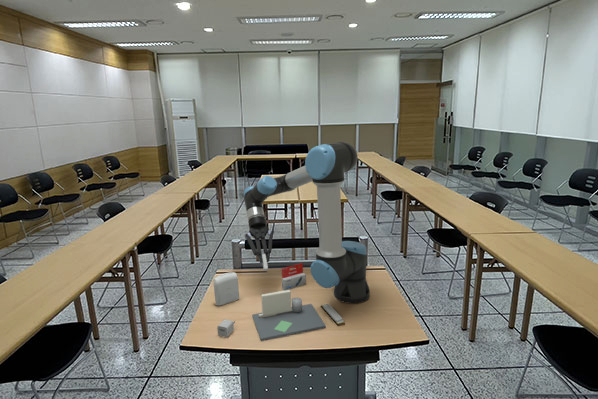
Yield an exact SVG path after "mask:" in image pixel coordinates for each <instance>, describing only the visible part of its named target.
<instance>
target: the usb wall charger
mask: <svg viewBox="0 0 598 399" xmlns="http://www.w3.org/2000/svg"><path fill="white" fill-rule="evenodd" d="M235 323H236V320H231V319H223V320H222V321H221V322H220V323H219V324H218V325H217V328H216V329H217V330H216V331H217V335H218V336H219V337H223V338H228V337H229V336H230V334H232V332H233V331H234V330H235V328H234V327H235V325H234V324H235Z"/></svg>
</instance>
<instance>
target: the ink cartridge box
mask: <svg viewBox="0 0 598 399" xmlns="http://www.w3.org/2000/svg"><path fill="white" fill-rule="evenodd" d="M303 265H304V264H303V262H301V263H298V264H293V265H289V266H286V267H282V268H281V289H282V291H285V290H291V289H295V288H298V286H299V287H301V286H305V285H306V283H307V282H306V281H307V280H306V277H307V276H306V273H304V266H303ZM292 268H294V269H292Z"/></svg>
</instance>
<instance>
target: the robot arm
mask: <svg viewBox="0 0 598 399" xmlns="http://www.w3.org/2000/svg"><path fill="white" fill-rule="evenodd" d="M358 159H359V156H358V152H357V150H356V148H355V147H354V146H353V145H352V144H350V143H349V142H346V141H338V142H332V143H324V144H319V145H317V146H314V147H312V148H311V149H310V150H309V151H308V153H307V154H306V156H305V163H304V165H303V166H301V167H299V168H297V169H294V170H292V171H290V172H287V173H286V174H283V175H281V176H278V177H272V176H269V175H264V176H263V177H262V178H260V179H259V180H258V181H257V183H256V184H255V185H253V186H251V185H250V186H248V187H246V188H245V189H244V190H243V200H244V205H245V211H246V215H247V221H248V228H249V231H248V233H245V234H244V239H245V240H246V241H247V243H248V245H249V247H250V249H251V251H252V253H253V256H255V257H258V261H259V263H260V264H262V268H263V272H268V269H269V266H268V263H269V262H270V258H269V255H270V254H271V253H272V249H273V236H274V234H275V231H274V230H270V229H269V228H268V226H267V222H266V218H265V212H264V206H263V203H264V202H265V200H267V199H268V198H269V197H272V196H276V195H279V194H283V193H287V192H292V191H294V190H296V189H297V188H299V187H301V186H304V185H307V184H309V183H311V182H312V184H314V185H315V186H316V196H317V199H316V200H317V215H318V216H317V218H318V219H317V220H318V221H317V222H318V240H319V243H318V244H319V246H318V248H317V249H316V250H315V260H314V261H313V262H312V263H311V264H310V270H309V271H310V274H311V277H312V279H313V280H314V281H315V283H317V284H318V286H320V287H322V288H324V289H331V288H333V296H334V299H336V300H337V301H340V302H342V303H346V304H362V303H365V302H366V301H367V300H369V298H370V297H371V296H370V294H371V293H370V292H371V291H370V287H369V284H368V281H367V260H368V259H367V255H368V253H367V252H368V250H367V247H366V245H365V244H363V243H362V242H359V241H353V240H342V239H343V238H342V237H343V233H342V230H343V229H342V206H341V205H342V204H341V201H342V200H341V198H342V197H341V185H342V184H343V183H344V182H345V174H346V173H348V172H350V171H352V170H353V169H354V168H355V166H356V164H357V162H358ZM267 235H268V246H267V241H266V236H267ZM251 237H252V238H253V239H254V240H255V244H256V245H255V244H254V242H253V240H252V238H251ZM260 240H261V242H260ZM261 244H262V248H261ZM267 247H268V248H267ZM262 250H263V252H262Z"/></svg>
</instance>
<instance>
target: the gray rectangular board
mask: <svg viewBox="0 0 598 399" xmlns="http://www.w3.org/2000/svg"><path fill="white" fill-rule="evenodd" d="M291 308H292V306H291ZM259 314H262V312H260V313H259V312H258V313H253V314H251V315H252V319H253V323H254V326H255V328H256V331H257V334H258V337H259V341H260V342H263V341H264V340H265V341H268V340H274V339H279V338H283V337H289V336H294V335H299V334H303V333H307V332H313V331H318V330H323V329H326V328H327V326H326V323H325V322H324V320H323V319H322V317H321V315H319V313H318V311H317V310H316V308H315V307H314V305H313V304H312V303H308V304H307V303H306V304H302V311H300V312H293V311H289V312H284V313H278V314H273V315H267V316H262V317H259Z"/></svg>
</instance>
